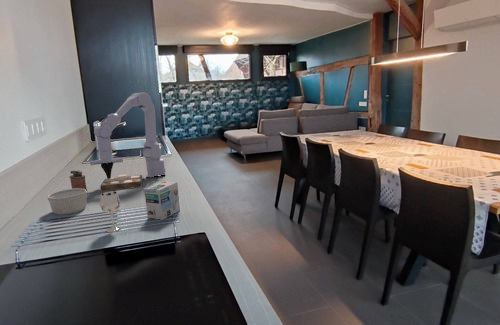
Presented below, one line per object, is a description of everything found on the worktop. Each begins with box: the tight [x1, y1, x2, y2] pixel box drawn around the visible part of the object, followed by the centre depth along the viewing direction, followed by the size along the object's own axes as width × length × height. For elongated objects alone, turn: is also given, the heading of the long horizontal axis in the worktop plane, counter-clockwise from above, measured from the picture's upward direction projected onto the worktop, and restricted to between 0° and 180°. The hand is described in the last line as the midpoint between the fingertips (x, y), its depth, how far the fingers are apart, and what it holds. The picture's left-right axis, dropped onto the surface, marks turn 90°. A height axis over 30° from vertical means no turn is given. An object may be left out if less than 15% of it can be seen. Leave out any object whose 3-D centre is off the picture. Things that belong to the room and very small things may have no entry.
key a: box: [130, 174, 141, 180], centre depth 167 cm, size 4×4×3 cm
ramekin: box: [47, 188, 88, 216], centre depth 130 cm, size 13×13×7 cm
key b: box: [117, 173, 128, 181], centre depth 166 cm, size 4×4×3 cm
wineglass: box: [99, 190, 122, 233], centre depth 107 cm, size 6×6×12 cm
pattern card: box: [101, 179, 140, 185], centre depth 160 cm, size 17×4×1 cm, turn 106°
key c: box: [103, 176, 115, 182], centre depth 164 cm, size 4×4×3 cm
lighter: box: [69, 170, 88, 192], centre depth 157 cm, size 8×3×10 cm, turn 71°
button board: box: [99, 174, 144, 192], centre depth 164 cm, size 18×15×2 cm
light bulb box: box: [143, 180, 181, 221], centre depth 119 cm, size 11×7×11 cm, turn 157°
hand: (109, 178), depth 164 cm, fingers closed, pressing on key c
